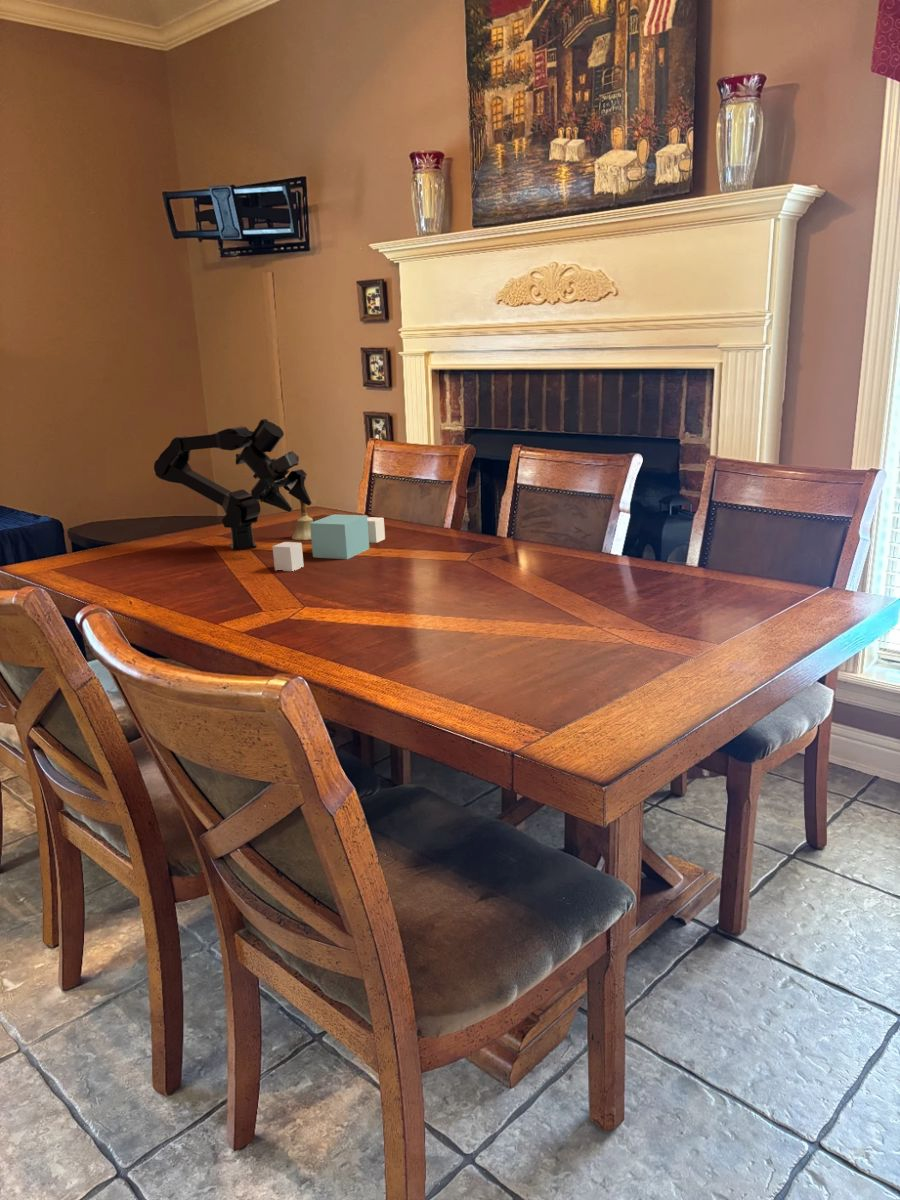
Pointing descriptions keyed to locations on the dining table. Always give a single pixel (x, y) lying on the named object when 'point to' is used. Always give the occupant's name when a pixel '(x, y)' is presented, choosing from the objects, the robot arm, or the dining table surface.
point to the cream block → (375, 529)
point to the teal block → (339, 536)
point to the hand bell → (303, 524)
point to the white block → (288, 556)
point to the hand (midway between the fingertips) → (300, 507)
